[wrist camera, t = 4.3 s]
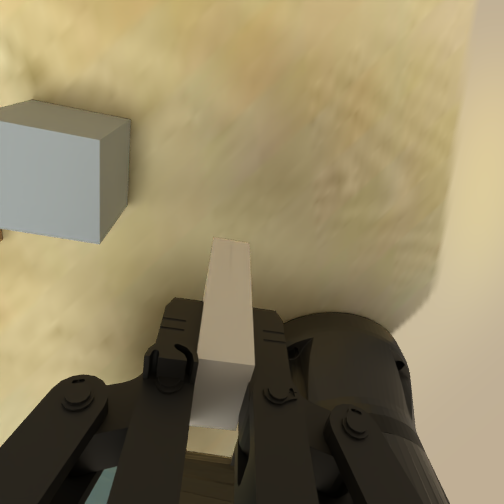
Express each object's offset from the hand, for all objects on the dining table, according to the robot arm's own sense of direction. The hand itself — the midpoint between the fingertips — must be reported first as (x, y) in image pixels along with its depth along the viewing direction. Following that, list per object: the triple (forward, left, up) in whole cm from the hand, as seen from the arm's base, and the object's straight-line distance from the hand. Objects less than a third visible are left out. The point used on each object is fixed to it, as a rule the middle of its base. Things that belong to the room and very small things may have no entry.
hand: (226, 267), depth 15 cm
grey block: (+10, 0, -12) cm, 15 cm away
